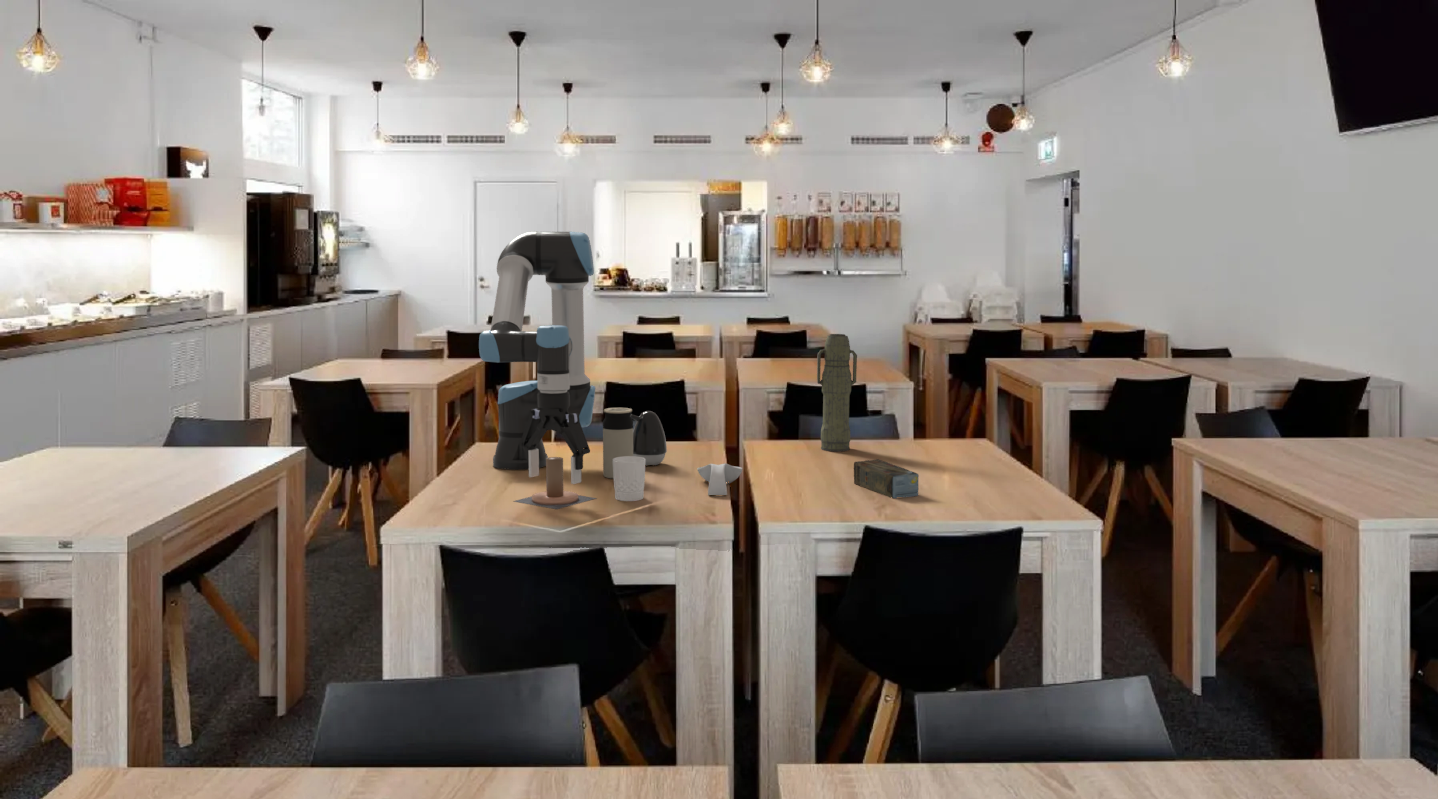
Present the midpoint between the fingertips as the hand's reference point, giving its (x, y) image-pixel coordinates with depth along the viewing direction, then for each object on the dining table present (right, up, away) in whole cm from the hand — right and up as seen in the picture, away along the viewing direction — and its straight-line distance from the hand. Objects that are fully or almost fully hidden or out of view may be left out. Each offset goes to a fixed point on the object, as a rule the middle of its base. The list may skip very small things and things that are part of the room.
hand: (554, 479), depth 261 cm
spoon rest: (+39, -4, +19) cm, 44 cm away
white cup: (+18, -5, +3) cm, 19 cm away
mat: (0, -5, +1) cm, 5 cm away
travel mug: (+12, -2, +31) cm, 33 cm away
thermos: (+75, +4, +74) cm, 105 cm away
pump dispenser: (+19, +1, +48) cm, 52 cm away
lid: (0, -5, +1) cm, 5 cm away
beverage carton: (+81, -4, +17) cm, 83 cm away
